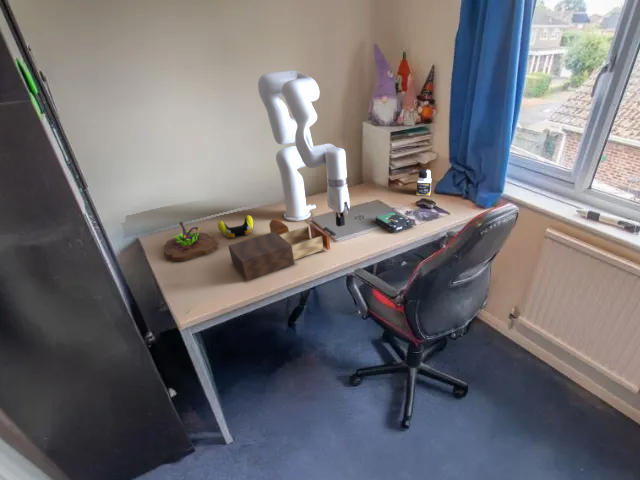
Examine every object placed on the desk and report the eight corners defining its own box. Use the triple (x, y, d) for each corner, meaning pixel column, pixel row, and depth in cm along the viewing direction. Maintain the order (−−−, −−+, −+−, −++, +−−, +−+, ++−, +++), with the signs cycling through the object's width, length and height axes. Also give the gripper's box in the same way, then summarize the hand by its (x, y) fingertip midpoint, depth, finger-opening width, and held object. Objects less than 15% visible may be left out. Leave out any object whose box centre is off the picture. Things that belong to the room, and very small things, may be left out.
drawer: (323, 233, 163) (322, 220, 159) (340, 245, 154) (339, 231, 150) (275, 249, 153) (272, 235, 149) (290, 263, 143) (287, 248, 140)
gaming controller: (219, 231, 169) (222, 241, 162) (216, 220, 166) (219, 229, 159) (253, 224, 174) (257, 233, 167) (250, 213, 171) (255, 221, 164)
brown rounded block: (282, 233, 167) (279, 217, 163) (290, 239, 161) (287, 223, 157) (271, 236, 164) (268, 220, 160) (279, 243, 159) (276, 226, 155)
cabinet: (278, 249, 154) (274, 231, 149) (294, 264, 144) (291, 245, 139) (232, 264, 145) (227, 245, 141) (246, 281, 135) (242, 261, 131)
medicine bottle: (416, 195, 200) (417, 172, 193) (417, 190, 206) (418, 168, 199) (429, 195, 199) (431, 172, 192) (430, 190, 205) (432, 168, 198)
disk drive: (412, 228, 169) (392, 216, 179) (413, 222, 167) (393, 210, 177) (394, 234, 164) (374, 221, 174) (394, 228, 162) (374, 216, 172)
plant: (209, 233, 168) (202, 209, 162) (221, 251, 154) (214, 225, 148) (160, 245, 159) (151, 221, 153) (168, 265, 146) (159, 239, 139)
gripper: (319, 179, 150) (323, 221, 161) (339, 189, 140) (342, 234, 151) (335, 175, 154) (338, 217, 164) (356, 184, 144) (358, 228, 154)
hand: (340, 225), depth 157 cm, fingers closed
